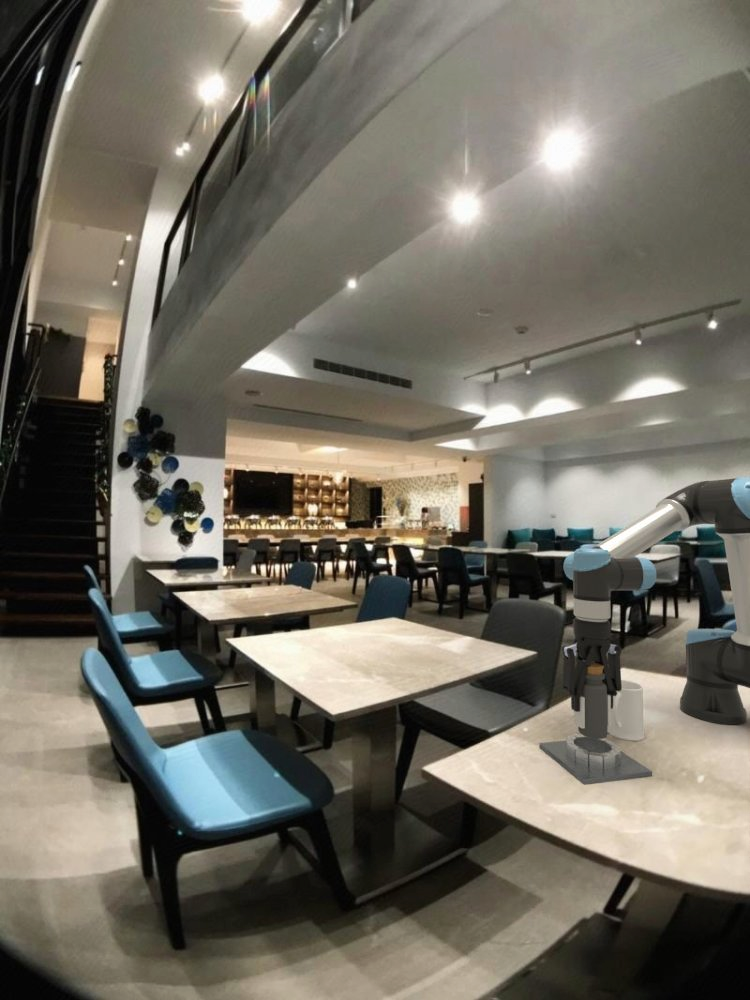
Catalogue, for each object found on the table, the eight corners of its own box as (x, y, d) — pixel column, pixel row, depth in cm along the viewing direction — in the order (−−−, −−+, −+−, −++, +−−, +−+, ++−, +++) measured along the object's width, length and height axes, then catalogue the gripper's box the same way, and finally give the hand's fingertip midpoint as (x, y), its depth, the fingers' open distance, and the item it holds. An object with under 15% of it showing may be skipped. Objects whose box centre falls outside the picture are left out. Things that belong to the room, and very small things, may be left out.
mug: (630, 748, 111) (629, 696, 111) (593, 735, 117) (593, 686, 118) (650, 734, 119) (649, 685, 119) (614, 723, 125) (614, 676, 126)
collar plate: (599, 741, 114) (599, 726, 114) (652, 776, 99) (651, 758, 99) (539, 747, 111) (539, 732, 111) (584, 784, 95) (584, 766, 95)
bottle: (605, 741, 101) (604, 669, 102) (576, 734, 104) (575, 664, 105) (609, 731, 106) (608, 663, 107) (580, 725, 109) (579, 658, 110)
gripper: (616, 614, 112) (617, 714, 111) (544, 616, 108) (544, 720, 107) (640, 620, 105) (641, 728, 104) (564, 623, 100) (564, 735, 99)
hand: (592, 724), depth 105 cm, fingers closed on bottle, 6 cm apart
